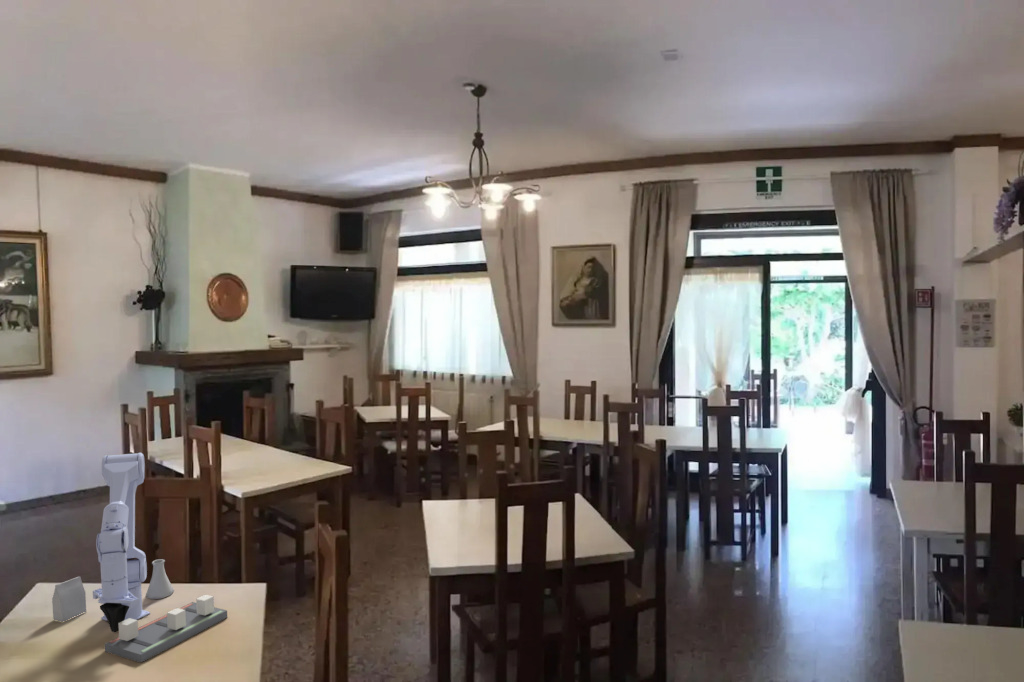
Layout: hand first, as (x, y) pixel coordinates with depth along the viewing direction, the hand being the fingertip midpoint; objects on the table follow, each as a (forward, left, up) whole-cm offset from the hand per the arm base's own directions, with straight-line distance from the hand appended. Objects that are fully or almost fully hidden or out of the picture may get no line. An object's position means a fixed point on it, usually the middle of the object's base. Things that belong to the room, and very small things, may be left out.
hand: (117, 630), depth 180 cm
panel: (+7, +9, -3) cm, 12 cm away
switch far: (+10, +18, -1) cm, 21 cm away
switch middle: (+10, +9, -1) cm, 14 cm away
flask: (-16, +25, -4) cm, 30 cm away
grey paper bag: (-26, +5, -4) cm, 27 cm away
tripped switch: (+4, 0, -1) cm, 4 cm away
